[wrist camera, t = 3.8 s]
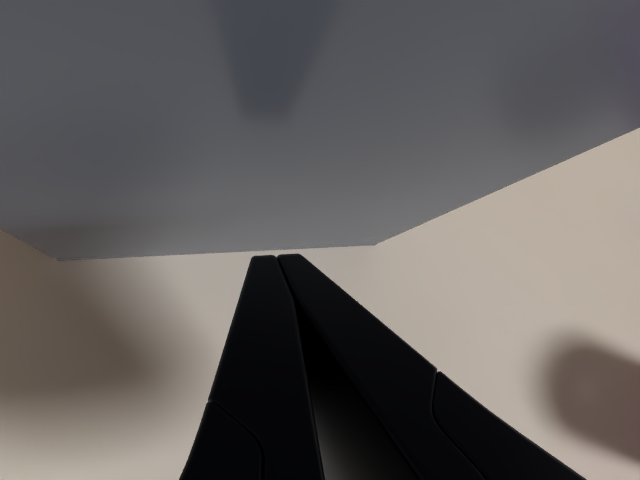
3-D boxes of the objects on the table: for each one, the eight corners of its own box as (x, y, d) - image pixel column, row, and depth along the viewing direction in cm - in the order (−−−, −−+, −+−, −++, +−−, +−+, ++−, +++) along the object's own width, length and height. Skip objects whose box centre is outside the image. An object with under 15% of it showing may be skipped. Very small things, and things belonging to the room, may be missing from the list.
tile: (373, 245, 17) (1027, -44, 4) (58, 260, 14) (-1423, -560, 1) (367, 181, 18) (942, -282, 4) (57, 185, 15) (-1065, -1112, 1)
